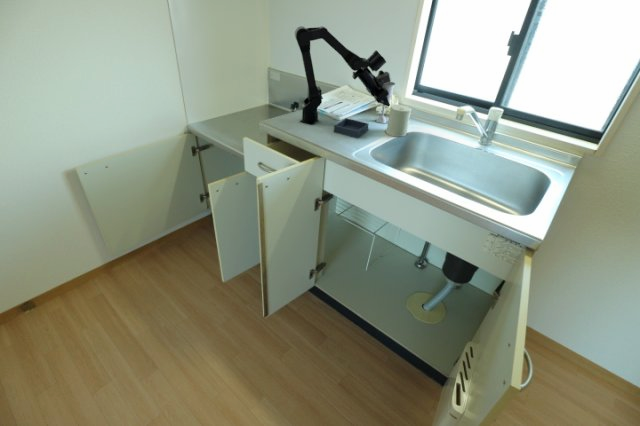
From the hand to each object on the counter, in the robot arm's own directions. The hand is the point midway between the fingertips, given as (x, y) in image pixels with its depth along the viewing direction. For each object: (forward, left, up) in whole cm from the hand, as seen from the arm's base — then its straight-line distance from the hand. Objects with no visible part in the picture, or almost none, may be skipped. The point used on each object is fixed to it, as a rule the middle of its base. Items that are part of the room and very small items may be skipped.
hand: (387, 103), depth 155 cm
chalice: (-1, -1, -9) cm, 9 cm away
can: (+10, -11, -9) cm, 17 cm away
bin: (-8, -21, -9) cm, 24 cm away
